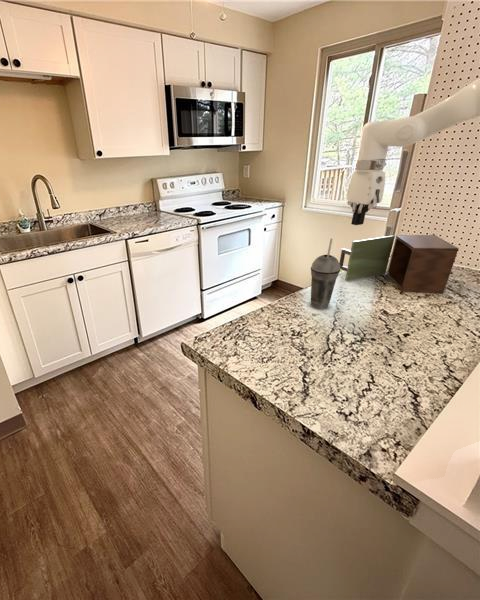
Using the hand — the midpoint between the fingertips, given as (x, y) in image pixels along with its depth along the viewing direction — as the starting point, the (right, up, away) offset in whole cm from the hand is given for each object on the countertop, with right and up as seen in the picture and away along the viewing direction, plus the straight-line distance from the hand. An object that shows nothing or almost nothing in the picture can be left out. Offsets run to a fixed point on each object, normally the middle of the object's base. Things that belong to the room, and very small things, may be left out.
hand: (357, 224), depth 105 cm
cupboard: (+14, -20, -6) cm, 25 cm away
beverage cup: (-21, -28, -13) cm, 37 cm away
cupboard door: (+3, -17, +4) cm, 18 cm away
